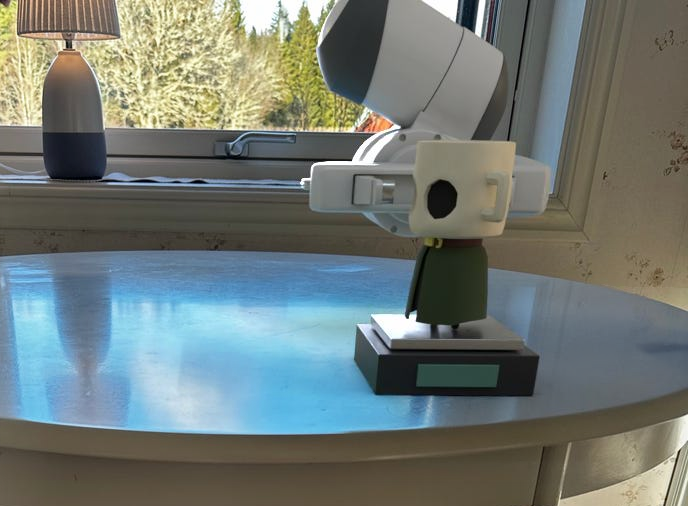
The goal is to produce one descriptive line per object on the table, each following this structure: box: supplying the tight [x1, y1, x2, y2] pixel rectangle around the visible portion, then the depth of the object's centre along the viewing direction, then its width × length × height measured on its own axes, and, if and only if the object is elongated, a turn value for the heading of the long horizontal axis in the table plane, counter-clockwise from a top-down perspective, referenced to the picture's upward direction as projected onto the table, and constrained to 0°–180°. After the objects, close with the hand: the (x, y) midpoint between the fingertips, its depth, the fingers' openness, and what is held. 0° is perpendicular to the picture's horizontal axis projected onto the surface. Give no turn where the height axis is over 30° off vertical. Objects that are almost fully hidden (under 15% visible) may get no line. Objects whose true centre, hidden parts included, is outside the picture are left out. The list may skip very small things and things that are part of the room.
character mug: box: [404, 140, 517, 329], centre depth 72 cm, size 11×7×13 cm, turn 23°
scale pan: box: [370, 314, 525, 350], centre depth 76 cm, size 10×10×1 cm
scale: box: [353, 323, 541, 397], centre depth 77 cm, size 12×12×3 cm
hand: (444, 194), depth 75 cm, fingers open, 8 cm apart
